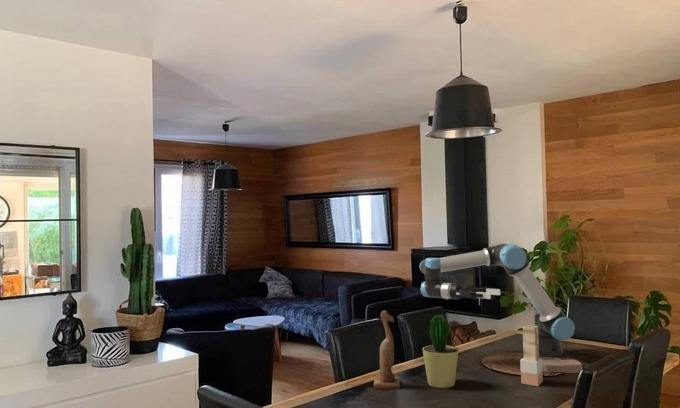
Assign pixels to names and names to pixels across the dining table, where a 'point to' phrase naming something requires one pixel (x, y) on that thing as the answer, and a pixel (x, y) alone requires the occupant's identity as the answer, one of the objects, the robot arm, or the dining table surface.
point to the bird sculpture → (386, 358)
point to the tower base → (531, 378)
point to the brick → (561, 366)
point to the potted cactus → (440, 355)
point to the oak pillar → (530, 343)
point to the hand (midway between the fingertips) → (495, 294)
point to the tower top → (531, 366)
